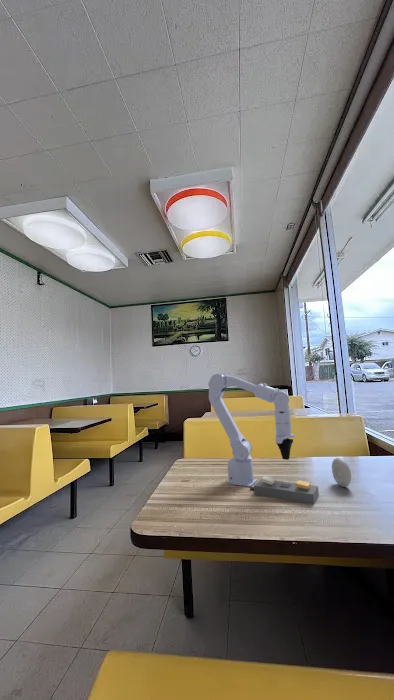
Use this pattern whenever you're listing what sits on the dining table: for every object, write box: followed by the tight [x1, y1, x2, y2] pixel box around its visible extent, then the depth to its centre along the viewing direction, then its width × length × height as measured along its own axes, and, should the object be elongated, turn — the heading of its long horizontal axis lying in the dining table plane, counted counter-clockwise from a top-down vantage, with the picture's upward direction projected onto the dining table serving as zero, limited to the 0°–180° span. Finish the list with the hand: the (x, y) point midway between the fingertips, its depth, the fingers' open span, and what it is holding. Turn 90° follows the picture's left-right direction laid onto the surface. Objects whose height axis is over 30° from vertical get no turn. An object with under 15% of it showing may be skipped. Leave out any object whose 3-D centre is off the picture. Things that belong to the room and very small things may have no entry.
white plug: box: [260, 475, 277, 485], centre depth 107 cm, size 4×4×1 cm
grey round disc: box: [331, 457, 352, 488], centre depth 109 cm, size 10×4×10 cm, turn 2°
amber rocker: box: [295, 479, 311, 489], centre depth 101 cm, size 4×4×1 cm
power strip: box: [249, 479, 320, 505], centre depth 105 cm, size 23×8×3 cm, turn 58°
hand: (286, 459), depth 114 cm, fingers closed
